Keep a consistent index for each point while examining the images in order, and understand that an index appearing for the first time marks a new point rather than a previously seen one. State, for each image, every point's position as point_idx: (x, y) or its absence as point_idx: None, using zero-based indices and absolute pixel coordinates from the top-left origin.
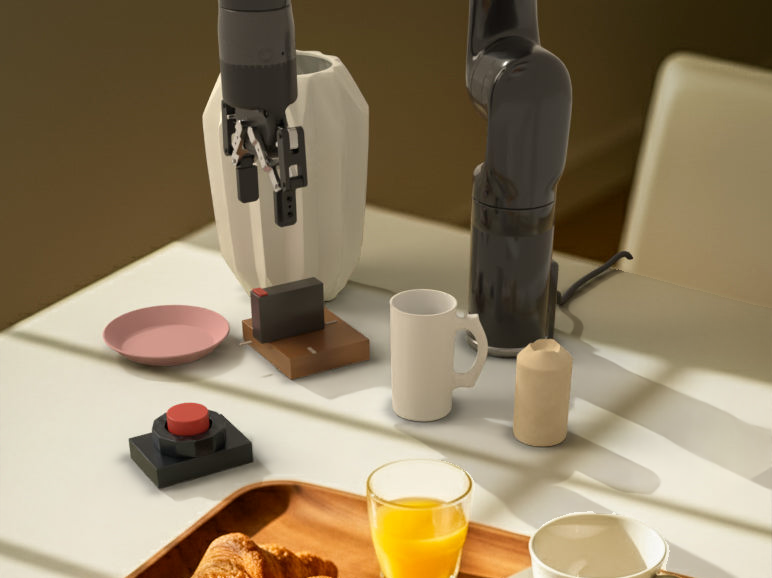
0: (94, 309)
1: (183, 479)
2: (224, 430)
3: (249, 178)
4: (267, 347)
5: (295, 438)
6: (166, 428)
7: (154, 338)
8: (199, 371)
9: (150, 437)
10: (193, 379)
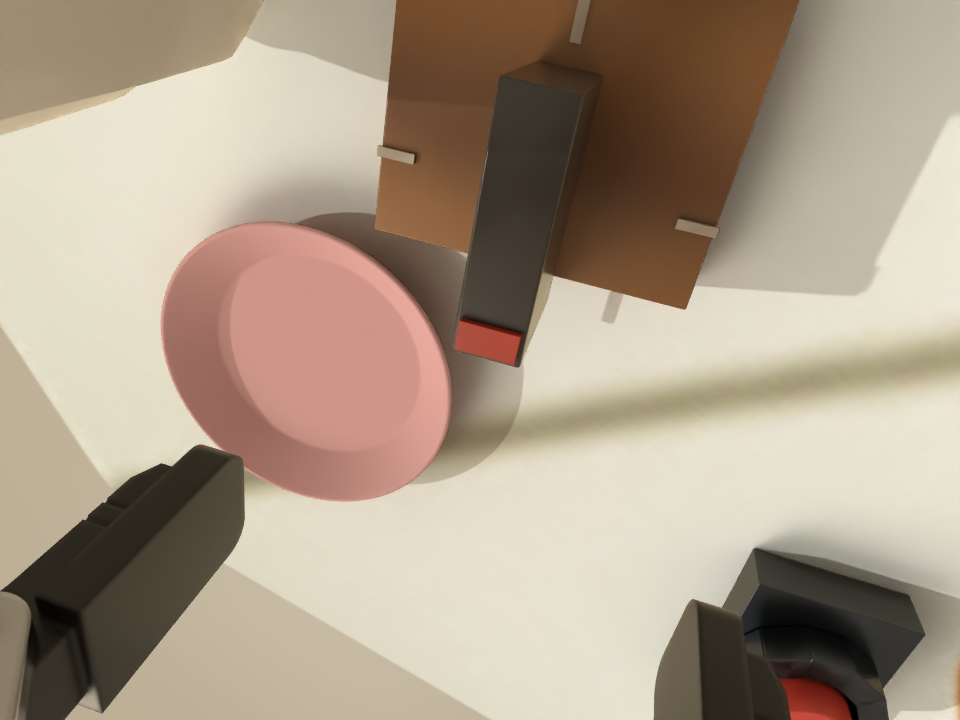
0: (72, 340)
1: None
2: (873, 679)
3: (148, 594)
4: None
5: (924, 483)
6: None
7: (277, 362)
8: (476, 395)
9: None
10: (500, 427)
